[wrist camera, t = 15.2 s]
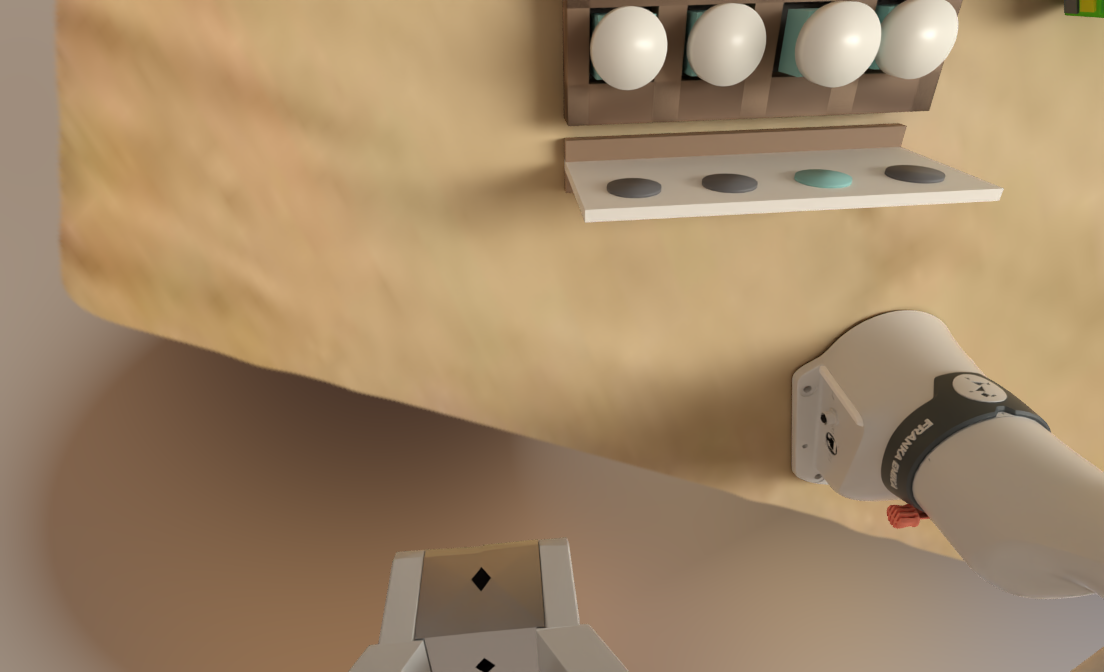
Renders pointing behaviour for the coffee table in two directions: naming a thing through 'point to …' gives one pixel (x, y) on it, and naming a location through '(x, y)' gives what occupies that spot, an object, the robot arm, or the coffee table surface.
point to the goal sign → (758, 173)
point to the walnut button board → (701, 100)
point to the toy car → (1084, 8)
